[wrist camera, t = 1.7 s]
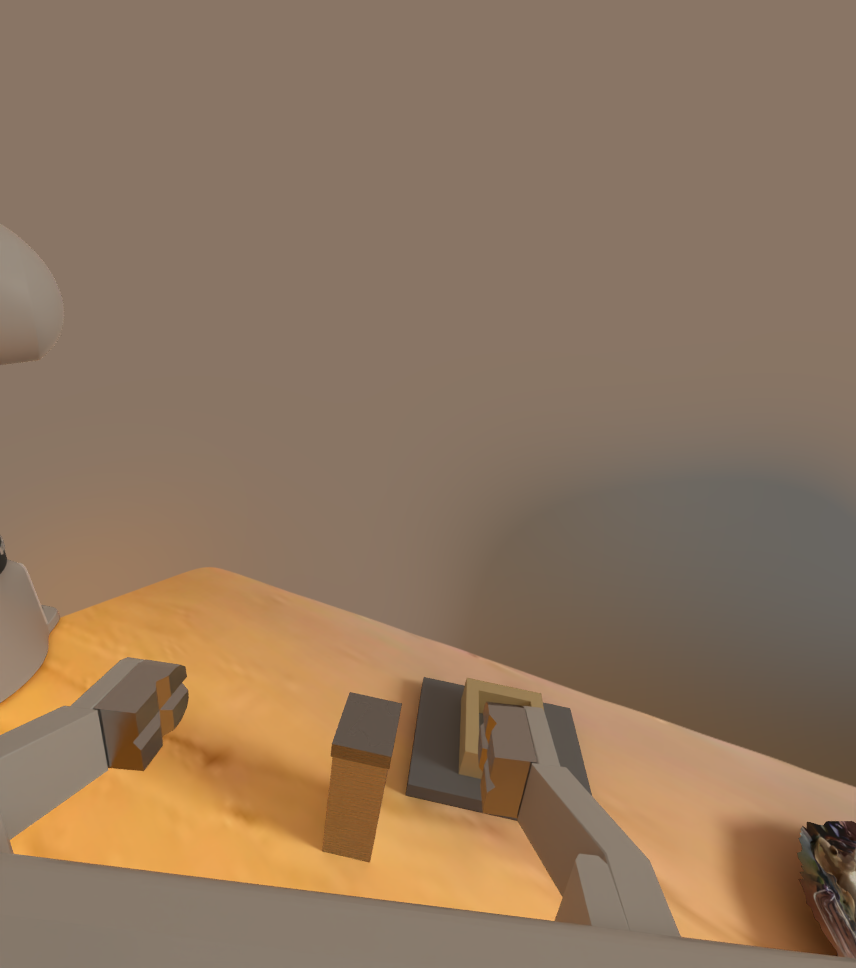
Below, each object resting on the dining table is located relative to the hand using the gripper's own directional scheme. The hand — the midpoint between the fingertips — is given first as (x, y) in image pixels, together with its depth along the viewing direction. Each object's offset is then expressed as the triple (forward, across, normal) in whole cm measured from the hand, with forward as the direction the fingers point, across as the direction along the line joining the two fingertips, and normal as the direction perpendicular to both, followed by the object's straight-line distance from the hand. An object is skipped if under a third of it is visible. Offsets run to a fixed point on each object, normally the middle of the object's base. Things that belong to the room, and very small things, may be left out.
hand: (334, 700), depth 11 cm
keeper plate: (+21, -11, +26) cm, 35 cm away
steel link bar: (+13, +1, +26) cm, 29 cm away
